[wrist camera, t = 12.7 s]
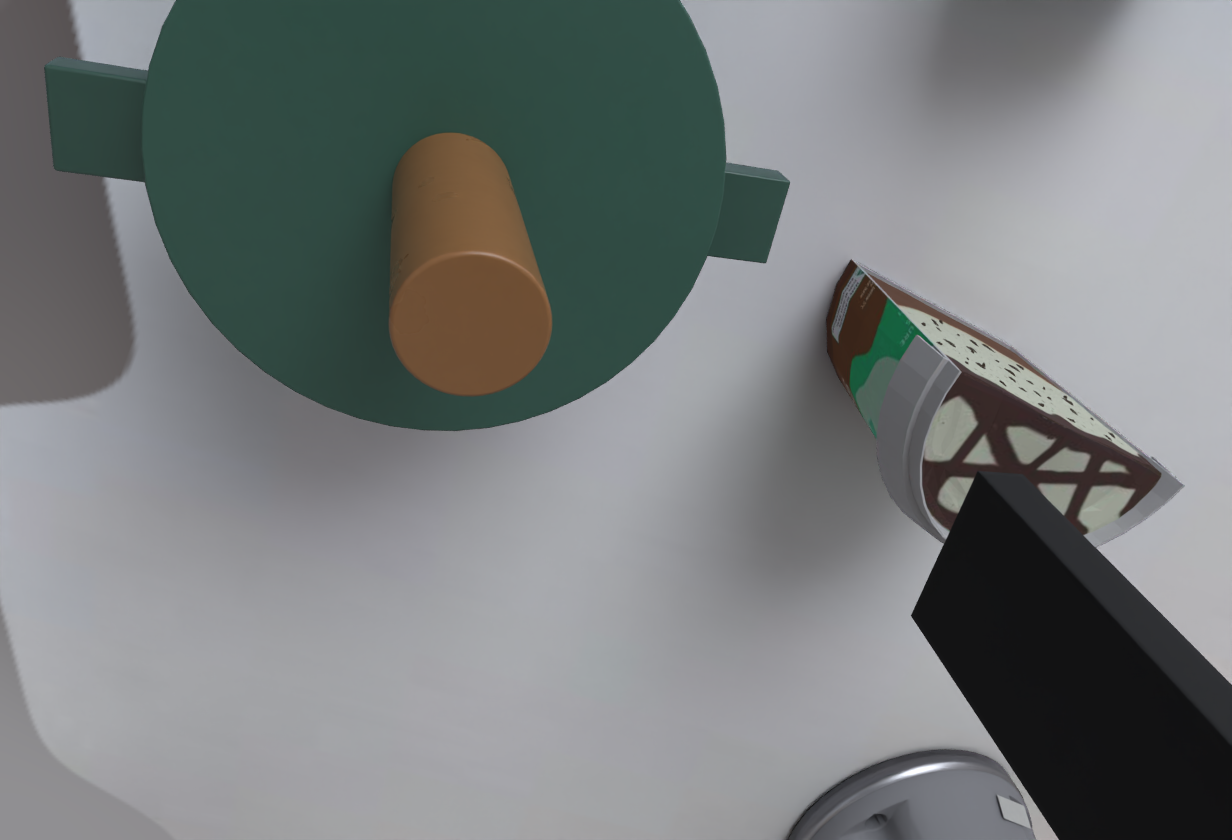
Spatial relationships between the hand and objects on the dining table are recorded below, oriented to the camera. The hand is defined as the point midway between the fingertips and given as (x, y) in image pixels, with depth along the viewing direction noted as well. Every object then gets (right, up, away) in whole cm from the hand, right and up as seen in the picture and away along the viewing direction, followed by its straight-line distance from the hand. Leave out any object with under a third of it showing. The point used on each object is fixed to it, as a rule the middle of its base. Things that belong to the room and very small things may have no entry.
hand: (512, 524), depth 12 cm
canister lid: (-3, +7, +11) cm, 13 cm away
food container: (+13, +4, +28) cm, 31 cm away
